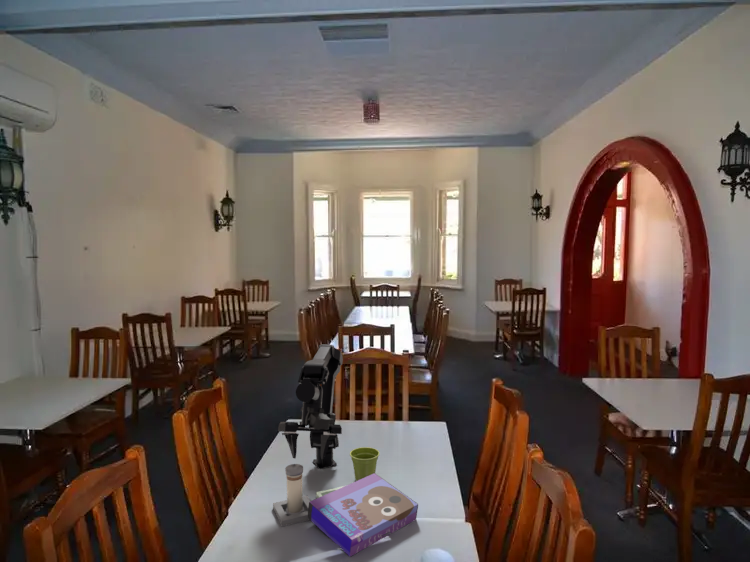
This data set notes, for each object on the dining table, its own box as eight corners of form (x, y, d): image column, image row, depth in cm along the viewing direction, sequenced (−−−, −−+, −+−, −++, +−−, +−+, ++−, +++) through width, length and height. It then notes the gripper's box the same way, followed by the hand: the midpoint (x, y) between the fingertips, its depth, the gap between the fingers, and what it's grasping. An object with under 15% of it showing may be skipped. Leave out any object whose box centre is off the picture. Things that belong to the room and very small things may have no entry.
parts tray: (316, 500, 154) (316, 492, 154) (348, 492, 159) (348, 485, 158) (327, 516, 145) (327, 508, 145) (360, 508, 149) (360, 500, 149)
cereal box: (418, 504, 143) (351, 540, 127) (416, 519, 144) (349, 557, 128) (374, 472, 155) (308, 502, 139) (373, 487, 156) (307, 518, 140)
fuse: (284, 510, 147) (283, 465, 146) (301, 506, 149) (300, 462, 148) (288, 519, 143) (287, 473, 141) (306, 515, 144) (305, 469, 143)
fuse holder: (273, 511, 148) (273, 503, 148) (307, 503, 152) (307, 495, 152) (281, 530, 139) (281, 521, 139) (318, 521, 143) (317, 512, 143)
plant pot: (345, 475, 170) (345, 449, 169) (372, 470, 173) (372, 444, 172) (356, 488, 161) (356, 461, 160) (384, 482, 165) (384, 456, 164)
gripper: (295, 401, 148) (290, 459, 144) (352, 405, 158) (349, 460, 153) (279, 402, 157) (274, 457, 153) (334, 406, 167) (331, 458, 162)
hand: (308, 458), depth 155 cm, fingers open, 9 cm apart
